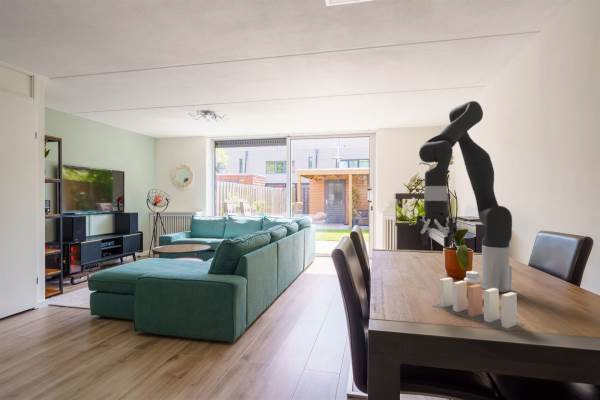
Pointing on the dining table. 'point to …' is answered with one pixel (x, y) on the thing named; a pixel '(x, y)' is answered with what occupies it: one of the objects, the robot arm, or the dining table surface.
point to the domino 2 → (459, 296)
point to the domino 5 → (509, 309)
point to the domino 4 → (491, 304)
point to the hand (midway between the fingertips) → (435, 246)
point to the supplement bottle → (472, 279)
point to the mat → (479, 318)
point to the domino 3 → (474, 300)
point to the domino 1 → (445, 292)
